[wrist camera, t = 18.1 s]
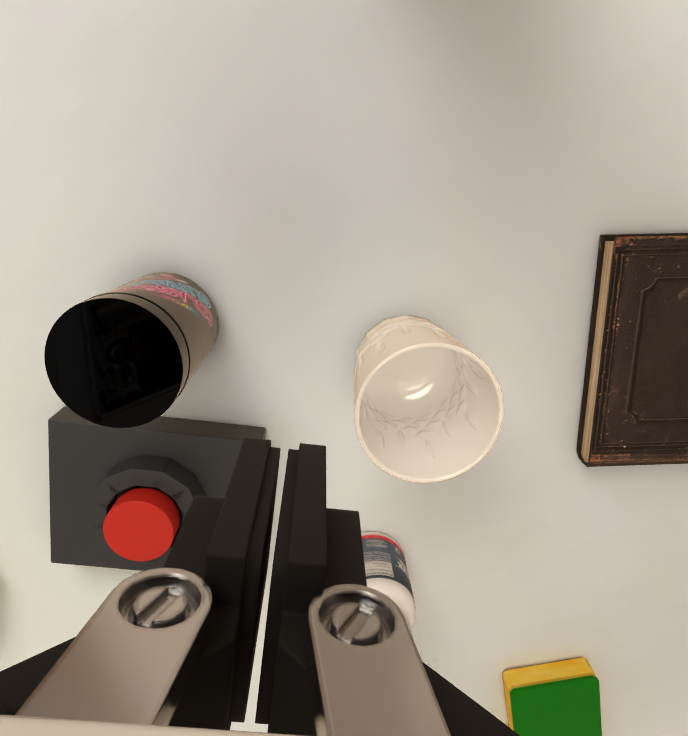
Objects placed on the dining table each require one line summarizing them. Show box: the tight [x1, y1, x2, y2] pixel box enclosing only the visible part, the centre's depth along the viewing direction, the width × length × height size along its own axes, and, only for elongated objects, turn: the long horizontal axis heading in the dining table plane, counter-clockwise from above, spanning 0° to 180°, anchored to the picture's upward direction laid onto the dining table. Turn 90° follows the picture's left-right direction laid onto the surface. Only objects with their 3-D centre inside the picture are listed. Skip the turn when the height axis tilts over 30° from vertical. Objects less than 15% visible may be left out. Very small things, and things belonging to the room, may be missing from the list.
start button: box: [103, 488, 180, 561], centre depth 36 cm, size 4×4×2 cm
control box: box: [48, 407, 266, 571], centre depth 39 cm, size 11×14×4 cm
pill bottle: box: [361, 532, 416, 635], centre depth 39 cm, size 5×5×9 cm
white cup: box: [354, 315, 504, 483], centre depth 34 cm, size 8×8×10 cm
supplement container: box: [45, 272, 218, 428], centre depth 33 cm, size 7×7×10 cm
